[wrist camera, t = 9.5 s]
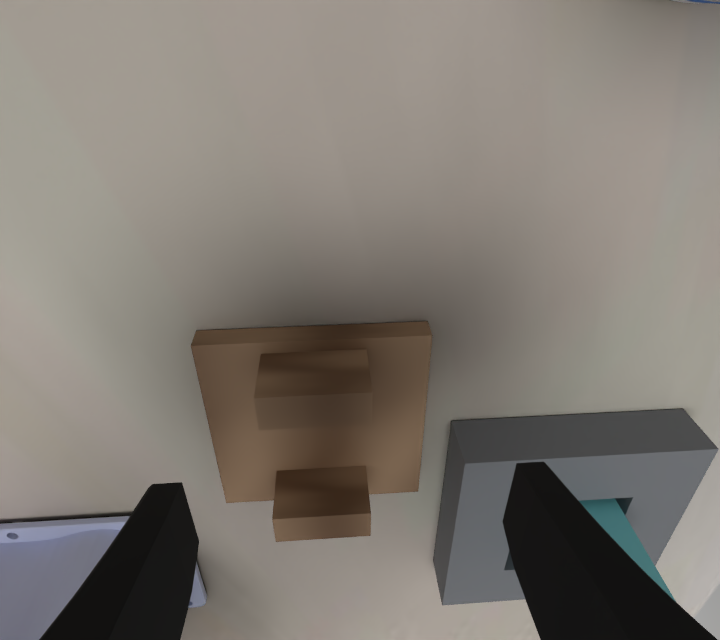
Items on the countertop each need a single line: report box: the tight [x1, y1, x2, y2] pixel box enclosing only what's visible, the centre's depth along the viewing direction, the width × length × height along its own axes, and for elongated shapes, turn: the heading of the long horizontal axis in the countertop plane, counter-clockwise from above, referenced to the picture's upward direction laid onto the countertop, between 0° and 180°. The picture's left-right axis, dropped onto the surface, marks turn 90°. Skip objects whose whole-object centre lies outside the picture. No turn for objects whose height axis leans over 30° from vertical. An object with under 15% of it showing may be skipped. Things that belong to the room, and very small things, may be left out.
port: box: [433, 409, 718, 605], centre depth 25 cm, size 11×11×3 cm
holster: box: [191, 321, 432, 542], centre depth 21 cm, size 9×9×4 cm
